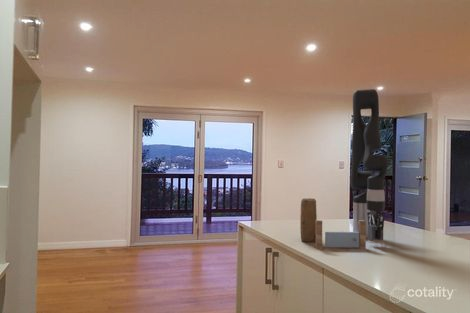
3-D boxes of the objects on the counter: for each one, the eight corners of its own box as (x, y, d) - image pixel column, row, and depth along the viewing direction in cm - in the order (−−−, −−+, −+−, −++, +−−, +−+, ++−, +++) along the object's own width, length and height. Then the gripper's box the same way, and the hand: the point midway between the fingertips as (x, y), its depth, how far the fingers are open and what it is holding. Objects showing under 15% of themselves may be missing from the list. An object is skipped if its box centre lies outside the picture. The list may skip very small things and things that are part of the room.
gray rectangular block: (367, 237, 176) (367, 224, 176) (378, 237, 176) (378, 224, 176) (372, 240, 171) (372, 226, 171) (383, 240, 171) (383, 226, 171)
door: (325, 246, 170) (325, 231, 170) (357, 246, 170) (357, 231, 170) (326, 247, 167) (326, 232, 167) (359, 248, 167) (360, 233, 167)
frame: (315, 247, 170) (315, 220, 170) (363, 247, 170) (363, 220, 171) (316, 248, 168) (316, 220, 168) (365, 248, 168) (365, 221, 168)
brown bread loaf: (317, 242, 180) (317, 199, 180) (300, 242, 181) (300, 199, 181) (315, 238, 191) (315, 197, 191) (300, 237, 192) (300, 197, 192)
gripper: (390, 201, 166) (390, 240, 166) (377, 197, 180) (377, 233, 181) (373, 201, 166) (373, 241, 166) (361, 197, 180) (361, 233, 180)
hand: (375, 237), depth 173 cm, fingers closed on gray rectangular block, 5 cm apart
